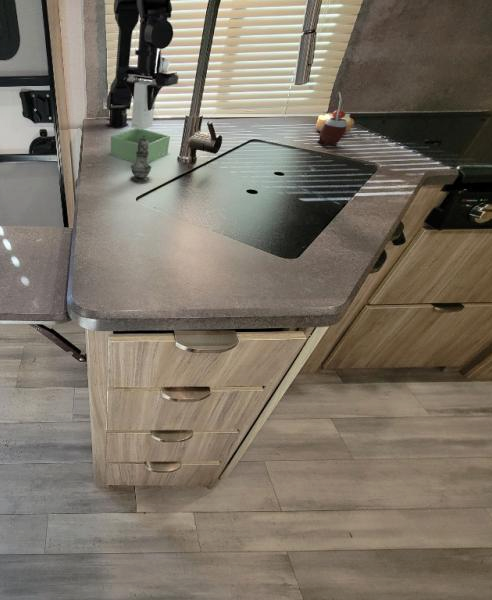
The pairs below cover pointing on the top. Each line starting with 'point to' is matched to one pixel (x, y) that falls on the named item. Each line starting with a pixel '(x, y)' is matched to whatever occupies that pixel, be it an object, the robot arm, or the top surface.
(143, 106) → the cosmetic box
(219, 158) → the top surface
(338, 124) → the mate gourd
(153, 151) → the green open box
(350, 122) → the pastry
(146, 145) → the grey tall ornate piece
